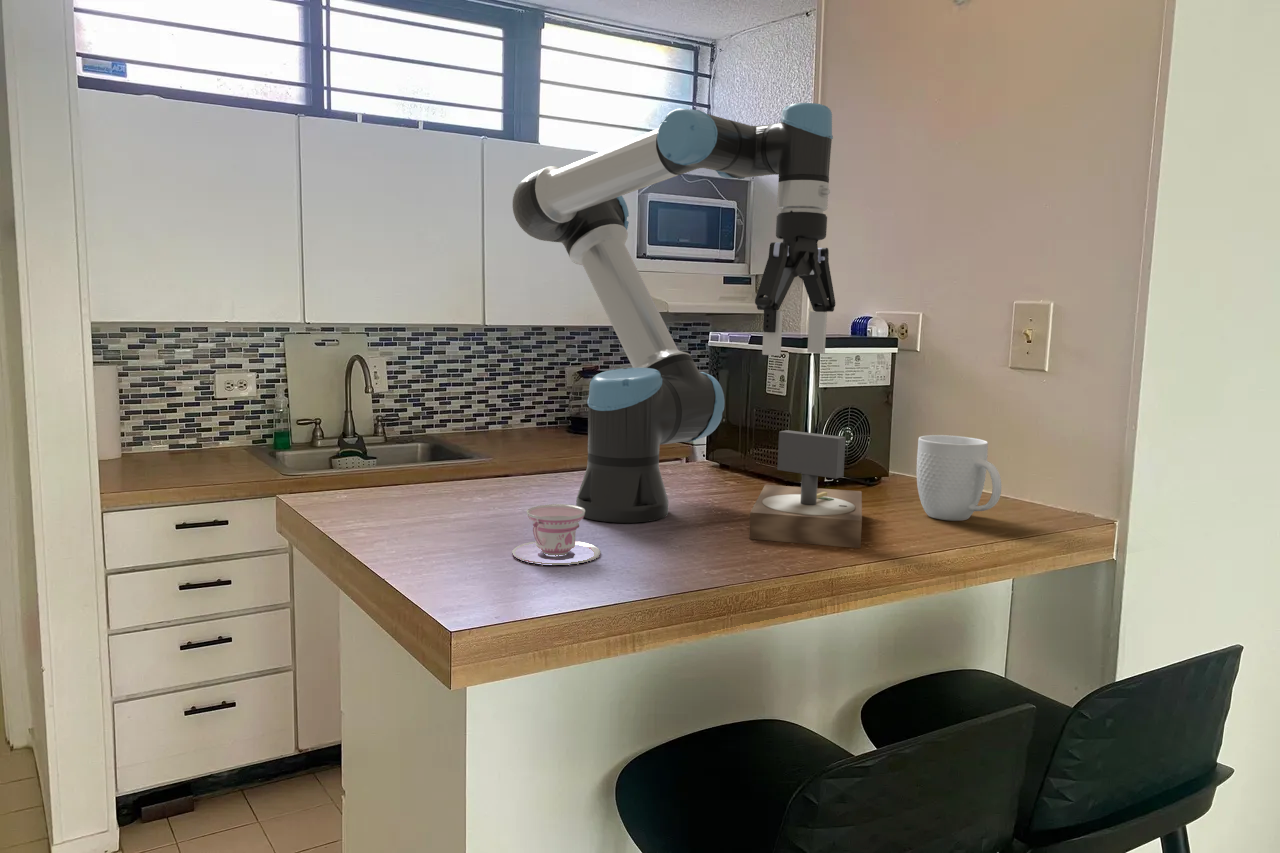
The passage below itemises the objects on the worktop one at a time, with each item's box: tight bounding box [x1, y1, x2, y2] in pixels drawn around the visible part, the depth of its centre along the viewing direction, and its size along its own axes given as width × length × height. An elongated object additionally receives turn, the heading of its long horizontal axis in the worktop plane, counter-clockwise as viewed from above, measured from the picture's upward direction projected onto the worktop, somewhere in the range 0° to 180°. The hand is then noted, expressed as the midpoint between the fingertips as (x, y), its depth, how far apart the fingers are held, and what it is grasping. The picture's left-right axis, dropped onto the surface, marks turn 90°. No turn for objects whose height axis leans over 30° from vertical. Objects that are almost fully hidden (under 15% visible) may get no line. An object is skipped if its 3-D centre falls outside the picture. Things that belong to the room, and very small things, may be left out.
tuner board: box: [748, 484, 863, 549], centre depth 142 cm, size 16×22×4 cm
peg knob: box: [776, 429, 847, 505], centre depth 140 cm, size 7×10×11 cm
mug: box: [915, 434, 1002, 522], centre depth 149 cm, size 15×11×13 cm
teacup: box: [511, 503, 601, 565], centre depth 123 cm, size 12×12×6 cm
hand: (794, 354), depth 139 cm, fingers open, 13 cm apart
